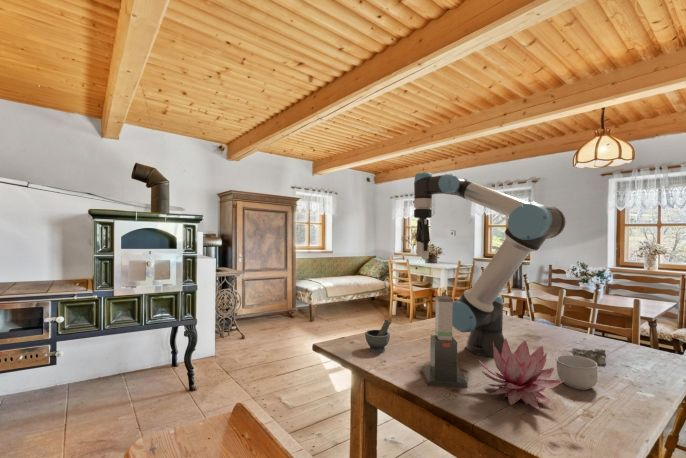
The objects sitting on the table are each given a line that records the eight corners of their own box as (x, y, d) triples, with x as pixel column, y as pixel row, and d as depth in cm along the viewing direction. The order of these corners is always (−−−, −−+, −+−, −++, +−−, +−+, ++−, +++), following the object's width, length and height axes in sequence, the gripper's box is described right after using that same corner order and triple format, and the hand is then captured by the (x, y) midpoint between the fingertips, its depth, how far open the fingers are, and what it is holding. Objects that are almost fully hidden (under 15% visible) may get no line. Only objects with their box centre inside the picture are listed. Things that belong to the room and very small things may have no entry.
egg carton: (606, 360, 128) (607, 350, 128) (605, 366, 123) (605, 355, 122) (573, 353, 135) (573, 343, 135) (570, 358, 130) (570, 348, 130)
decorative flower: (504, 375, 113) (505, 330, 113) (575, 403, 95) (576, 350, 95) (463, 391, 102) (464, 341, 102) (535, 427, 84) (536, 366, 84)
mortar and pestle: (372, 356, 129) (373, 324, 129) (360, 348, 137) (361, 318, 137) (396, 351, 134) (397, 321, 134) (384, 344, 142) (384, 316, 142)
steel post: (448, 355, 113) (449, 296, 113) (452, 361, 108) (452, 299, 108) (434, 355, 113) (435, 295, 113) (437, 360, 108) (438, 298, 108)
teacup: (599, 397, 99) (599, 370, 99) (555, 387, 105) (556, 362, 105) (594, 379, 111) (594, 355, 111) (555, 371, 117) (555, 348, 117)
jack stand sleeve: (456, 371, 116) (457, 333, 116) (467, 387, 104) (467, 345, 104) (421, 369, 117) (421, 332, 117) (428, 385, 105) (428, 344, 105)
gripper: (410, 210, 159) (409, 255, 159) (418, 206, 134) (418, 259, 134) (426, 210, 159) (425, 255, 159) (437, 206, 134) (437, 260, 134)
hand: (422, 257), depth 147 cm, fingers open, 13 cm apart
